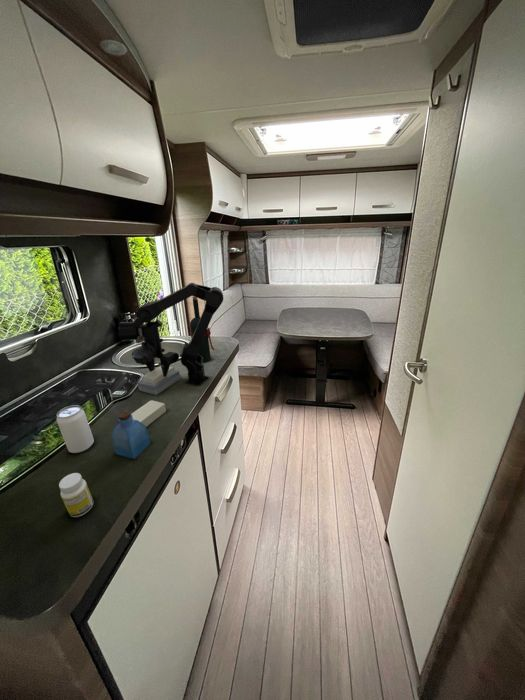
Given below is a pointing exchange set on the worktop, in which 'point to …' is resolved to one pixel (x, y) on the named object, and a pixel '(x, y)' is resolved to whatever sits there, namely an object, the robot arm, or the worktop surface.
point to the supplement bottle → (75, 495)
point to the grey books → (159, 384)
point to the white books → (149, 412)
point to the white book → (156, 375)
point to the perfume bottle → (129, 436)
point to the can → (75, 429)
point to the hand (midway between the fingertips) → (159, 375)
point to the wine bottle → (204, 345)
